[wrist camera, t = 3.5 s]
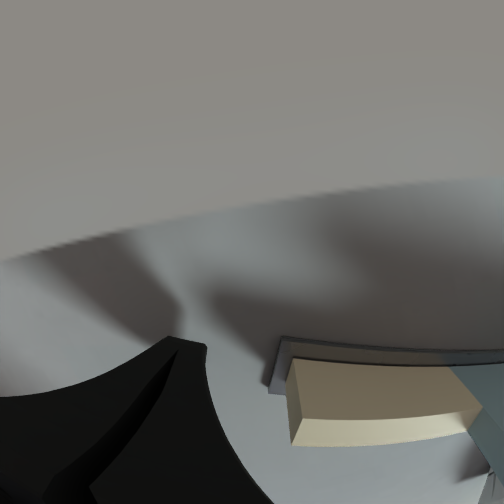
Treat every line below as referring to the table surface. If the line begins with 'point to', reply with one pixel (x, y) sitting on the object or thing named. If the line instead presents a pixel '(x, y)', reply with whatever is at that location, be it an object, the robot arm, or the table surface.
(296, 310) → the table surface
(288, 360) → the sill
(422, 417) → the cleaver
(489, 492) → the die
